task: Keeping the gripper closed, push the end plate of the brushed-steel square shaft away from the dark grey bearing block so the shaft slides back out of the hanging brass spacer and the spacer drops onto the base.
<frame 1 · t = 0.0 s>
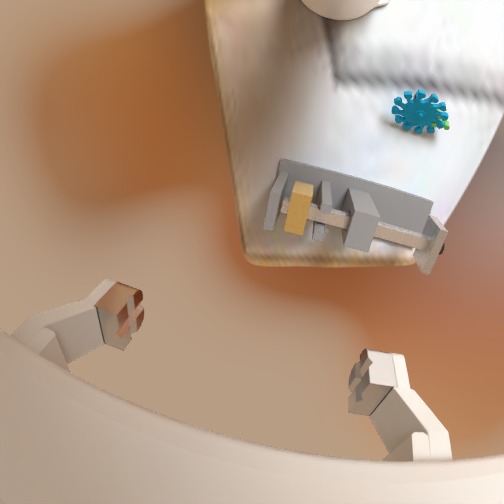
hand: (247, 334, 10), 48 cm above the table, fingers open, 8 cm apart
spacer: (300, 200, 51), point 6 cm above the table, touching shaft
shaft: (367, 226, 46), point 10 cm above the table, slide at 0.0 cm, touching spacer
bearing base: (354, 203, 55), on the table
gear: (416, 112, 45), on the table
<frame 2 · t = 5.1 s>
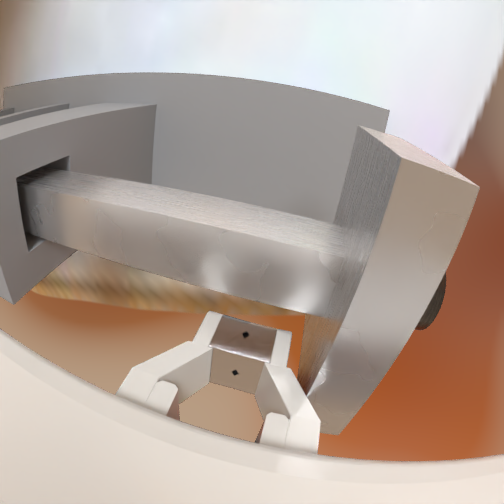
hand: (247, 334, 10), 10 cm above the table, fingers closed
shaft: (45, 201, 10), point 10 cm above the table, slide at 0.5 cm, touching gripper, spacer
bearing base: (135, 145, 19), on the table
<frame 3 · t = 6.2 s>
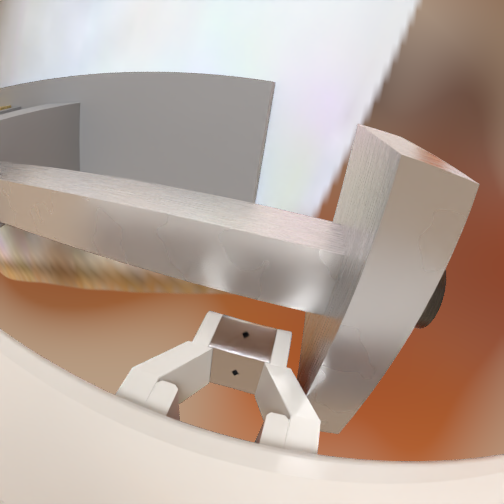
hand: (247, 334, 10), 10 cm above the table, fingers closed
shaft: (46, 200, 10), point 10 cm above the table, slide at 6.8 cm, touching gripper
bearing base: (70, 139, 19), on the table
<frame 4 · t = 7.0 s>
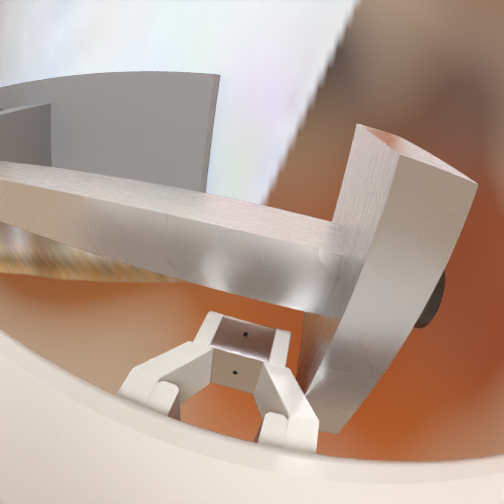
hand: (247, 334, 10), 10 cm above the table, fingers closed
shaft: (45, 199, 10), point 10 cm above the table, slide at 10.0 cm, touching gripper
bearing base: (44, 137, 20), on the table
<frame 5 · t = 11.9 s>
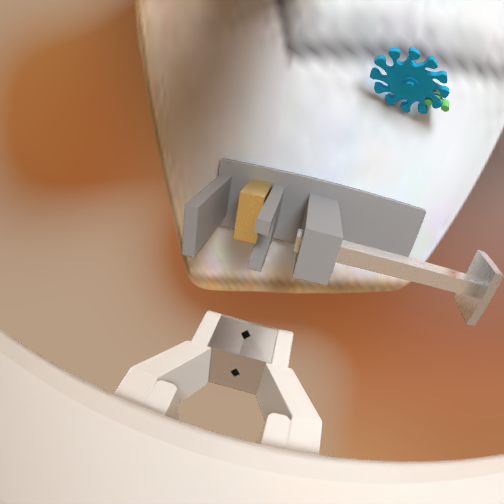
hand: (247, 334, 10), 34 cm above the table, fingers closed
spacer: (258, 201, 43), point 1 cm above the table, touching bearing base
shaft: (407, 268, 34), point 10 cm above the table, slide at 10.0 cm
bearing base: (318, 213, 43), on the table
gear: (405, 84, 32), on the table
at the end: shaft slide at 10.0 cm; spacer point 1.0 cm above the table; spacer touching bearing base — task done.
